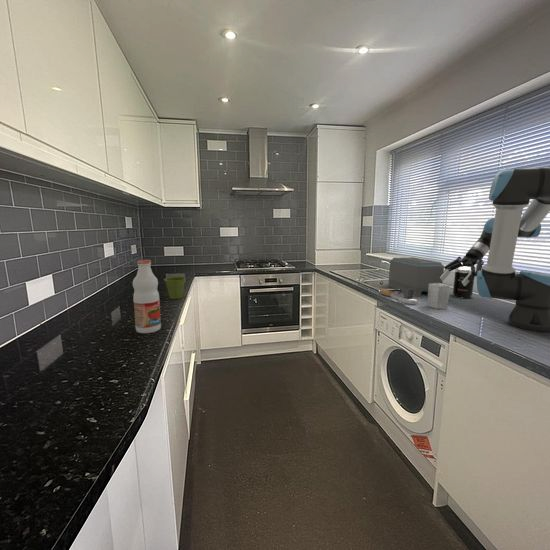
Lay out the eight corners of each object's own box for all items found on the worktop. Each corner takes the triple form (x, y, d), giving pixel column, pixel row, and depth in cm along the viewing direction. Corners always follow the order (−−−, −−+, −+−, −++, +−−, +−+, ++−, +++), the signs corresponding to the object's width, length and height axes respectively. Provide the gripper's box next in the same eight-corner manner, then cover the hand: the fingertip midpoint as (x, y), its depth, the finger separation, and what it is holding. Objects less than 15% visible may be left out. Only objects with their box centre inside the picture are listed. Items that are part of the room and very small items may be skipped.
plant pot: (170, 295, 174) (169, 276, 173) (189, 295, 173) (189, 277, 172) (161, 300, 163) (160, 280, 161) (182, 300, 162) (181, 280, 160)
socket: (447, 308, 152) (449, 285, 150) (436, 309, 150) (439, 286, 148) (437, 304, 158) (439, 283, 156) (426, 305, 156) (428, 283, 154)
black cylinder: (453, 293, 184) (457, 254, 180) (472, 296, 178) (477, 255, 174) (451, 297, 176) (456, 255, 171) (471, 299, 170) (477, 256, 165)
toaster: (407, 284, 212) (410, 256, 208) (442, 295, 180) (445, 262, 176) (384, 285, 208) (386, 256, 205) (415, 296, 176) (418, 263, 173)
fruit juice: (141, 325, 122) (136, 258, 117) (164, 325, 122) (160, 258, 118) (131, 333, 113) (125, 261, 108) (156, 333, 113) (151, 261, 108)
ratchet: (422, 304, 159) (423, 290, 157) (406, 305, 156) (407, 291, 155) (390, 293, 184) (391, 281, 183) (376, 294, 182) (377, 282, 180)
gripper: (503, 260, 146) (477, 291, 145) (459, 255, 170) (436, 281, 168) (497, 249, 144) (470, 281, 142) (453, 246, 167) (429, 273, 166)
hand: (451, 281), depth 155 cm, fingers open, 13 cm apart
